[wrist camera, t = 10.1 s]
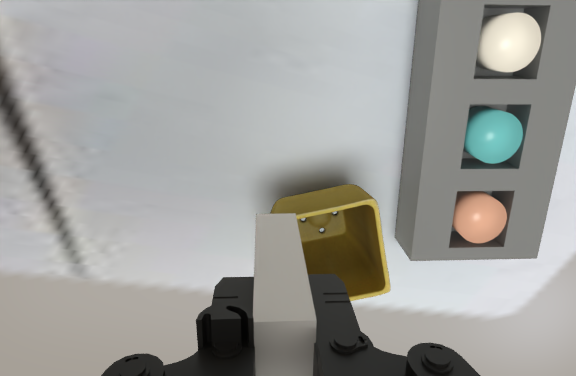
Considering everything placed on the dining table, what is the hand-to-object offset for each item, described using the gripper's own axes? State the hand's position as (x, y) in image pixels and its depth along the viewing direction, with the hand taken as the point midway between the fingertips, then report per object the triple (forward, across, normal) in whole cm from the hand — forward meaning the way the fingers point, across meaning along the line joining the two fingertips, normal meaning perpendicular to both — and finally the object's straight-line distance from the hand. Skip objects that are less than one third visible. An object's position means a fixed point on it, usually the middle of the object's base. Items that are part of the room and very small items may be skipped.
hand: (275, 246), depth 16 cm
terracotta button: (+22, +19, -8) cm, 30 cm away
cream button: (+22, +19, +8) cm, 30 cm away
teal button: (+22, +19, 0) cm, 29 cm away
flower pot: (+25, +5, -9) cm, 27 cm away
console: (+24, +19, 0) cm, 31 cm away
